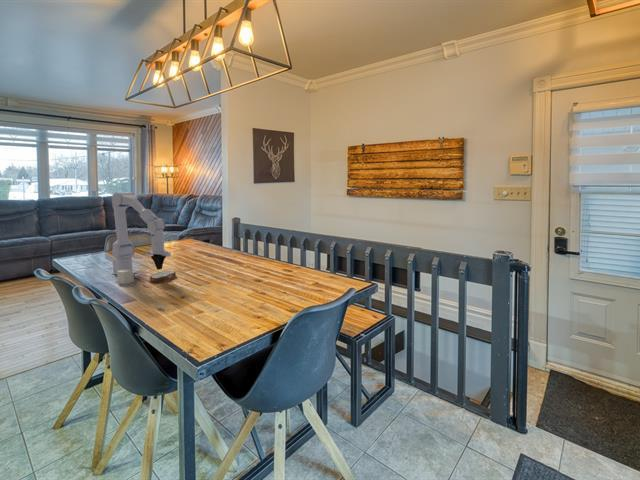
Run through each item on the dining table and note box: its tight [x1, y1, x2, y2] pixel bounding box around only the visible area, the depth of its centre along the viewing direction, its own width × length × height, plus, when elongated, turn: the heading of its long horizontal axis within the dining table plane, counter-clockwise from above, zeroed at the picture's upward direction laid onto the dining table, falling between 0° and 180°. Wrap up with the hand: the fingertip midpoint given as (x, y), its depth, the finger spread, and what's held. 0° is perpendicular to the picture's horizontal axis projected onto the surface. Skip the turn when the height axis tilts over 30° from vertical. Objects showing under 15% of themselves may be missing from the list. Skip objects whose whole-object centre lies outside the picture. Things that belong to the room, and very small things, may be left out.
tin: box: [149, 270, 177, 284], centre depth 183 cm, size 15×3×8 cm
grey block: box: [116, 269, 135, 285], centre depth 177 cm, size 5×5×6 cm
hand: (159, 269), depth 182 cm, fingers closed
